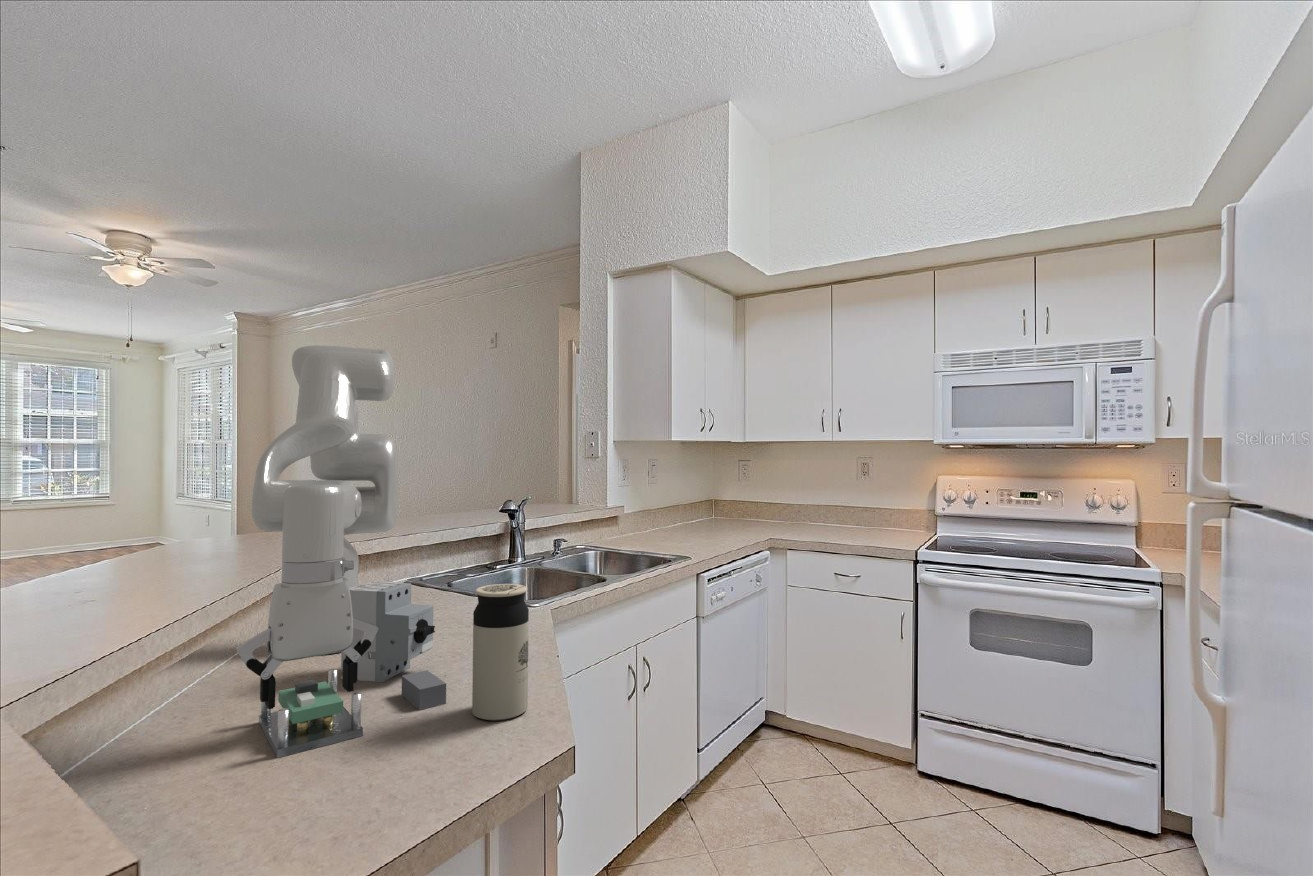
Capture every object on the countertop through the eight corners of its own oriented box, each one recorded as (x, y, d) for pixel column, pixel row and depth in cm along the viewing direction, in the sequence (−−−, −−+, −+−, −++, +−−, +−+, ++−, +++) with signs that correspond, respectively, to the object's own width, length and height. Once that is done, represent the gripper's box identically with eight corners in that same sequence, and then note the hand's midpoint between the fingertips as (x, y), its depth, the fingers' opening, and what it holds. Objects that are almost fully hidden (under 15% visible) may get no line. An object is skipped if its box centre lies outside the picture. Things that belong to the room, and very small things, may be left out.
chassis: (258, 722, 89) (259, 683, 90) (336, 705, 96) (336, 668, 96) (277, 758, 79) (278, 713, 79) (362, 735, 85) (363, 694, 85)
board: (278, 701, 89) (278, 683, 89) (325, 691, 93) (325, 674, 93) (292, 724, 82) (293, 704, 82) (343, 712, 86) (343, 693, 86)
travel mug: (460, 717, 91) (462, 591, 92) (494, 698, 99) (495, 581, 100) (507, 725, 88) (508, 595, 89) (537, 705, 96) (539, 585, 97)
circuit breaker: (416, 684, 105) (418, 593, 105) (340, 678, 108) (342, 589, 108) (441, 670, 112) (442, 584, 113) (369, 665, 115) (370, 581, 115)
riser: (401, 694, 100) (401, 675, 100) (426, 689, 103) (427, 670, 103) (419, 710, 94) (419, 689, 94) (446, 703, 97) (446, 683, 97)
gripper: (370, 562, 97) (368, 676, 96) (235, 575, 85) (231, 704, 85) (386, 569, 91) (384, 690, 90) (243, 584, 80) (239, 722, 79)
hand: (310, 697), depth 87 cm, fingers open, 9 cm apart
